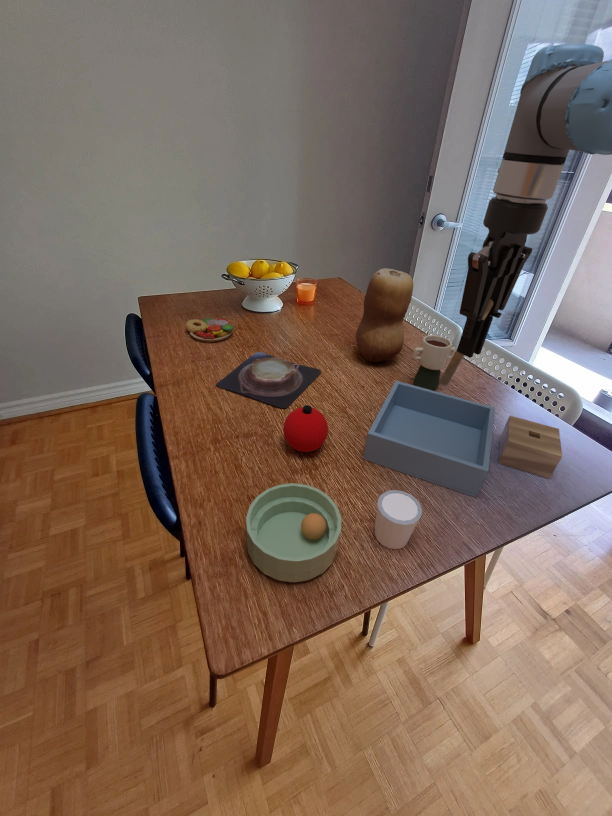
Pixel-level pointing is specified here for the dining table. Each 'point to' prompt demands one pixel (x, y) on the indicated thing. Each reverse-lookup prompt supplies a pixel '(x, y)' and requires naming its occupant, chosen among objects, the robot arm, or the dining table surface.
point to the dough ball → (313, 526)
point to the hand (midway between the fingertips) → (468, 352)
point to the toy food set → (209, 329)
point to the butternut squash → (384, 315)
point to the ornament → (305, 429)
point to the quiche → (269, 379)
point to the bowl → (291, 532)
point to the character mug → (432, 360)
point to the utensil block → (530, 447)
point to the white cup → (396, 518)
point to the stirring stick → (459, 356)
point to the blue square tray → (433, 437)
